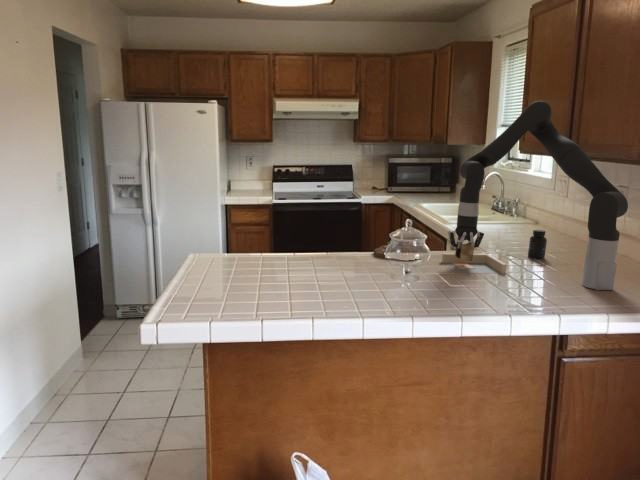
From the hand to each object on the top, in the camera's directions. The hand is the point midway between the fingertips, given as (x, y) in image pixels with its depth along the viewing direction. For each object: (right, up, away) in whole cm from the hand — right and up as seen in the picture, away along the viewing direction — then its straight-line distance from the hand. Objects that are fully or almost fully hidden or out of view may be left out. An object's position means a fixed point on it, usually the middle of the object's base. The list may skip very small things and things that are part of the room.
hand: (463, 257), depth 203 cm
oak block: (0, 0, 0) cm, 0 cm away
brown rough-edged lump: (-23, 0, +18) cm, 29 cm away
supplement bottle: (+37, -1, +22) cm, 43 cm away
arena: (+3, -4, -1) cm, 5 cm away
